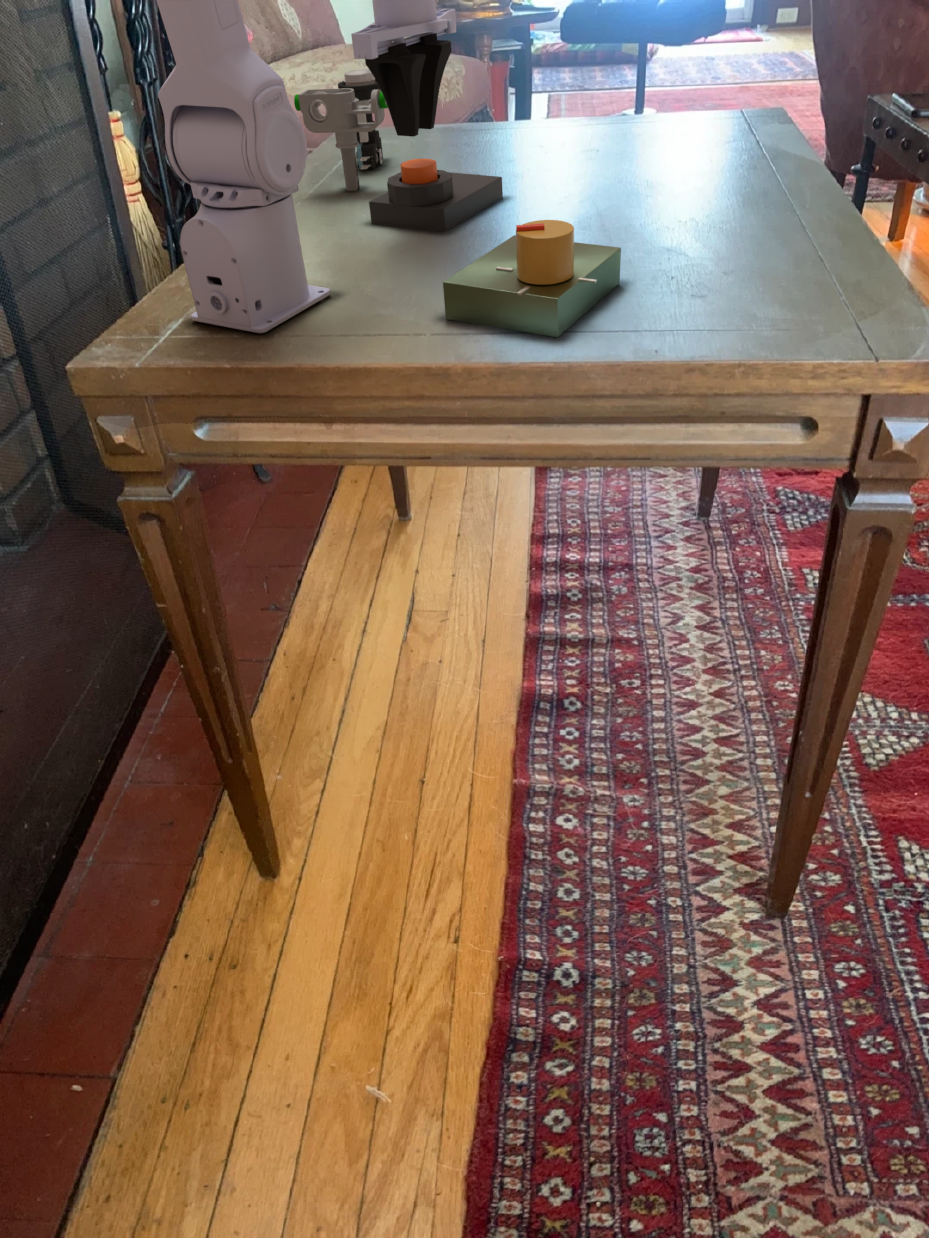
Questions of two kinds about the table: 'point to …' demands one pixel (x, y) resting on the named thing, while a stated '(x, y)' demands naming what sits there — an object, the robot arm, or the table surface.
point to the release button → (419, 171)
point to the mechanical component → (341, 121)
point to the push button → (364, 117)
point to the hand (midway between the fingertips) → (415, 132)
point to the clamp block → (530, 290)
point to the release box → (435, 200)
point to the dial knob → (545, 252)
